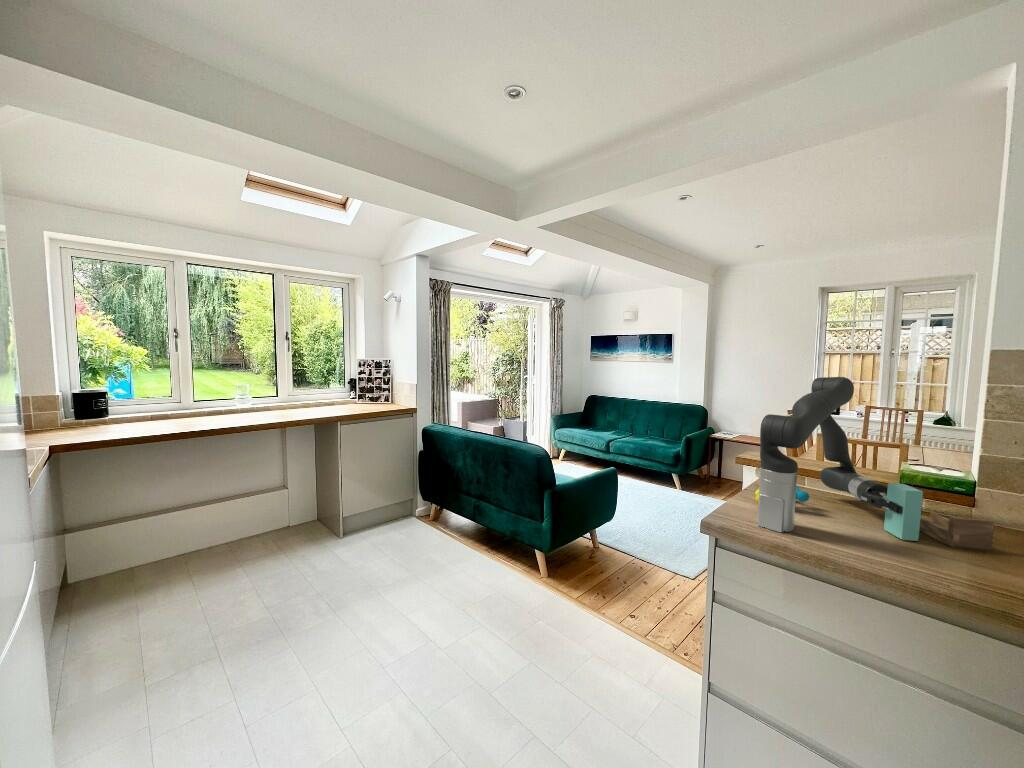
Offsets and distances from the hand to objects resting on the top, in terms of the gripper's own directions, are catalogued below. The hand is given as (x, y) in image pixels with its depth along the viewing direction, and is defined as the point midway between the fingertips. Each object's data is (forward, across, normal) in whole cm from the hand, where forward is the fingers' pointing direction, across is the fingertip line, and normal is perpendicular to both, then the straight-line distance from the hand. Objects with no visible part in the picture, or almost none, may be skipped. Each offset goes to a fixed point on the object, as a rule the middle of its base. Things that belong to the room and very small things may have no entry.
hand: (910, 511), depth 114 cm
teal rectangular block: (-3, 0, +8) cm, 8 cm away
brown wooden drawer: (-7, +13, +8) cm, 17 cm away
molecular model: (-24, -24, +9) cm, 34 cm away
